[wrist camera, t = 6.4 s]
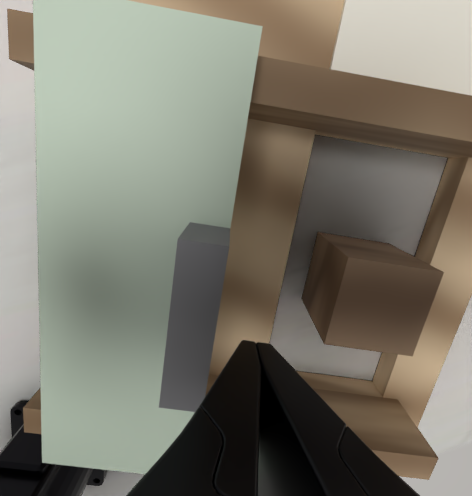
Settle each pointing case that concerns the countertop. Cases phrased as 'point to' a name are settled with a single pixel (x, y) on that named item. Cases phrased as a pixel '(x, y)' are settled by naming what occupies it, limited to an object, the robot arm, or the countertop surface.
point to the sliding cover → (132, 218)
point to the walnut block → (368, 294)
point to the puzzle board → (289, 195)
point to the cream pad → (407, 42)
